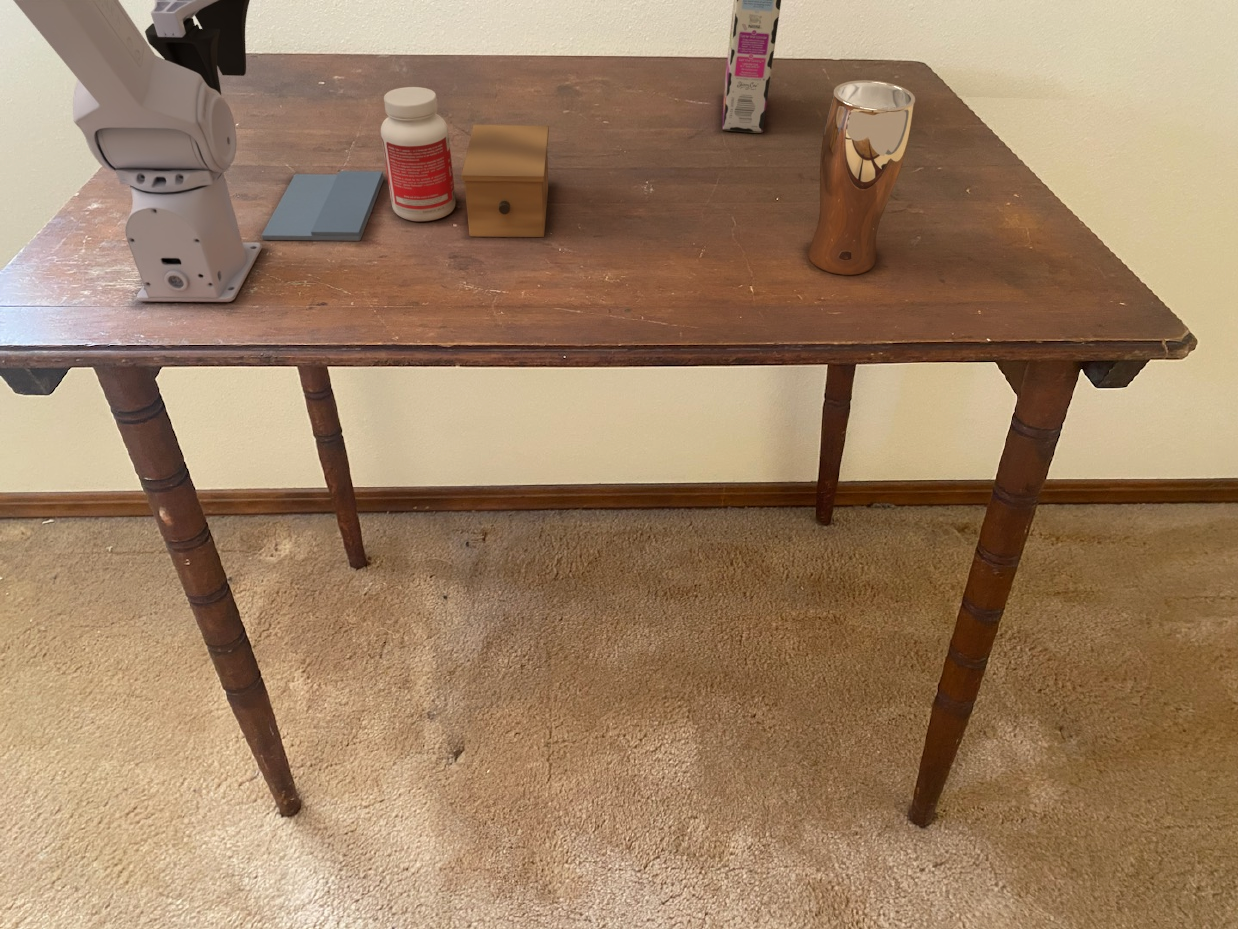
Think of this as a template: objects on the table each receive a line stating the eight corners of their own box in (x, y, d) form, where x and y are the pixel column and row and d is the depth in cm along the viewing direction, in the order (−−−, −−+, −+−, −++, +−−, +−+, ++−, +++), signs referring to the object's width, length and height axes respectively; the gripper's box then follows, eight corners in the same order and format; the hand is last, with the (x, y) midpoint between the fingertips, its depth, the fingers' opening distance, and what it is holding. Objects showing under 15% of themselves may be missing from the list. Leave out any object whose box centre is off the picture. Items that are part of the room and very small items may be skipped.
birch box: (545, 241, 87) (543, 178, 83) (466, 240, 87) (460, 177, 83) (550, 184, 96) (548, 125, 92) (478, 183, 96) (473, 124, 92)
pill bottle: (467, 213, 91) (456, 99, 83) (408, 229, 88) (392, 113, 81) (439, 189, 95) (426, 78, 87) (382, 203, 92) (364, 90, 85)
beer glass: (788, 258, 86) (814, 93, 76) (830, 232, 89) (860, 72, 79) (853, 286, 82) (889, 117, 72) (893, 258, 86) (933, 94, 76)
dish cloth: (360, 240, 86) (358, 232, 86) (262, 240, 86) (260, 231, 86) (383, 179, 96) (382, 170, 95) (295, 178, 96) (294, 169, 95)
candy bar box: (765, 134, 107) (785, -22, 96) (721, 132, 107) (737, -25, 96) (763, 98, 115) (781, -50, 104) (722, 96, 115) (737, -52, 104)
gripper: (197, -48, 71) (243, 125, 80) (250, -98, 81) (285, 61, 91) (103, -50, 71) (160, 124, 80) (169, -100, 81) (213, 59, 91)
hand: (222, 90), depth 86 cm, fingers open, 7 cm apart
